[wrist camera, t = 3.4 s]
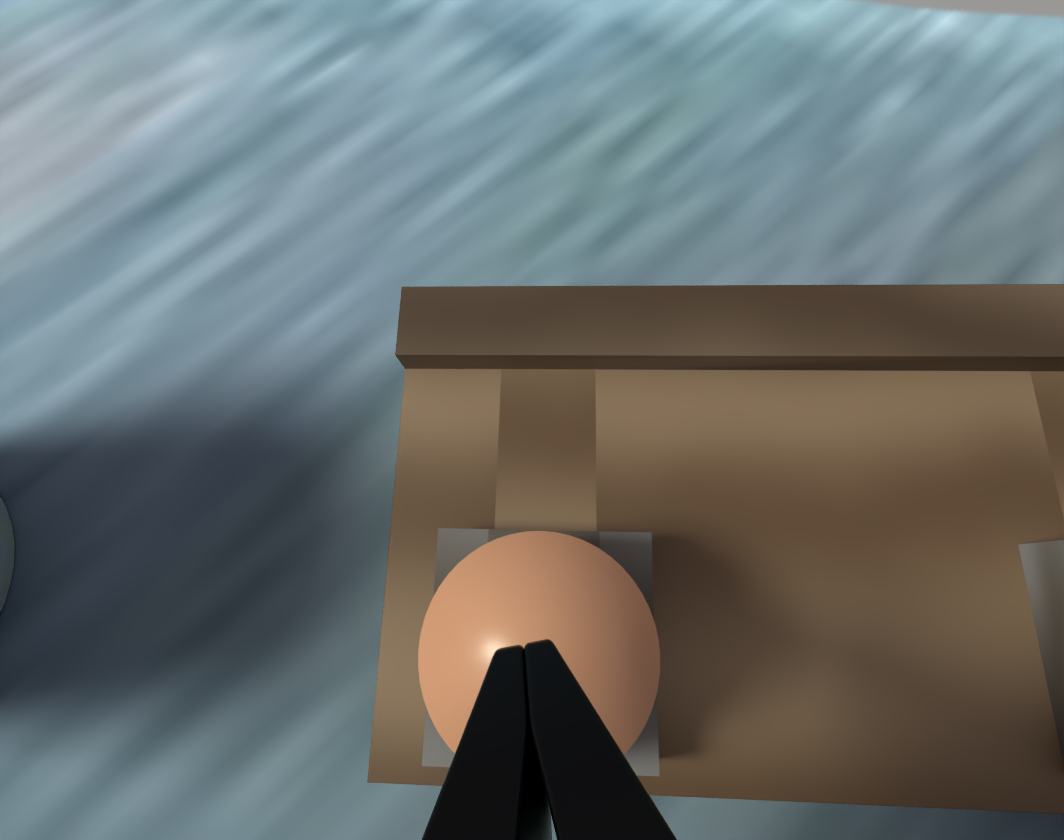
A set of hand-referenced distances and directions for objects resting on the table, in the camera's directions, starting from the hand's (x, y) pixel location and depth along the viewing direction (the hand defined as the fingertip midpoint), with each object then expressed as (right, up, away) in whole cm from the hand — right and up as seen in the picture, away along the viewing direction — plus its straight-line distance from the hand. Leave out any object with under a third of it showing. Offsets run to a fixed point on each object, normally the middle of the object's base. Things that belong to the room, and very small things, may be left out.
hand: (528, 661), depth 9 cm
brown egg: (0, -2, +8) cm, 8 cm away
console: (+8, 0, +9) cm, 12 cm away
